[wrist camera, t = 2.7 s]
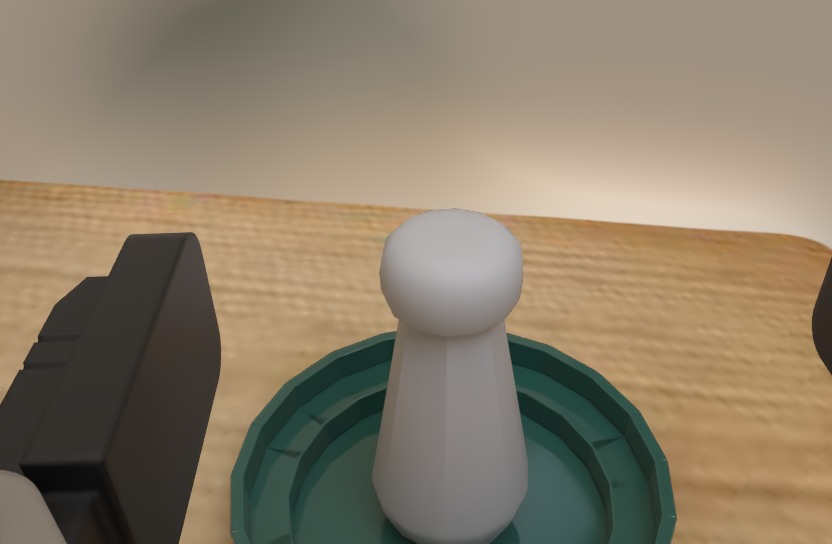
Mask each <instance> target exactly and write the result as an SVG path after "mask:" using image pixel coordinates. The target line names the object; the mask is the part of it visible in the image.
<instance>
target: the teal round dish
mask: <svg viewBox="0 0 832 544" xmlns="http://www.w3.org/2000/svg"><path fill="white" fill-rule="evenodd" d="M396 333H397V331H394V332H387V333H384V334H383V333H382V334H379V335H377V336H374V337H371V338H368V339H366V340H363V341H360V342H357V343H355V344H352V345H349V346H347V347H344V348H341V349H338V350H336V351H333V352H332V353H329V354H328V355H326V356H325V357H323V358H322V359H320V360H319V361H317V362H316V363H314V364H313V365H311V366H310V367H308V368H307V369H305V370H304V371H302V372H301V373H299V374H298V375H297V376H295V377H294V378H292V379H291V380H289V381H288V382H287V383H285V384H284V385H283V387H282V388H281V389H280V390H279V391H278V392H277V394H276V395H275V396H274V397H273V398H272V400H271V401H270V402H269V403H268V404H267V405H266V407H265V408H264V409H263V410H262V411H261V413H260V414H259V415H258V416H257V417H256V418H255V420H254V421H253V422H252V423H251V425H250V428H249V430H248V433H247V435H246V438H245V441H244V443H243V446H242V448H241V451H240V453H239V456H238V458H237V461H236V463H235V466H234V469H233V471H232V474H231V510H230V533H231V537H232V541H233V544H416V543H414V542H412V541H410V540H409V539H407V538H405V537H403V536H402V535H401V533H400V532H399V531H398V530H397V529H396V528H395V526H394V525H393V524H392V523H391V522H390V520H389V519H388V518H387V517H386V516H385V514H384V512H383V510H382V507H381V504H380V502H379V499H378V497H377V494H376V491H375V489H374V486H373V482H372V479H371V477H372V471H373V466H374V461H375V455H376V450H377V444H378V438H379V432H380V426H381V420H382V415H383V409H384V403H385V397H386V391H387V386H388V380H389V374H390V368H391V362H392V356H393V351H394V345H395V339H396ZM506 334H507V340H508V346H509V352H510V358H511V364H512V369H513V375H514V381H515V387H516V393H517V399H518V405H519V411H520V416H521V422H522V428H523V434H524V440H525V446H526V452H527V458H528V490H527V493H526V495H525V498H524V500H523V502H522V503H521V505H520V507H519V509H518V510H517V512H516V514H515V515H514V517H513V519H512V521H511V522H510V524H509V525H508V526H507V527H506V528H505V529H504V530H503V531H502V532H501V533H500V534H499V535H498V536H497V537H496V538H495V539H494V540H493V541H492V542H491V543H490V544H671V541H672V537H673V533H674V529H675V525H676V521H677V515H676V509H675V503H674V497H673V490H672V484H671V478H670V472H669V465H668V461H667V458H666V457H665V455H664V453H663V451H662V450H661V448H660V446H659V444H658V443H657V441H656V439H655V437H654V436H653V434H652V432H651V430H650V428H649V427H648V425H647V423H646V421H645V420H644V418H643V416H642V414H641V413H640V412H639V410H638V409H637V408H636V407H635V406H634V405H633V404H632V403H631V402H630V401H629V400H627V399H626V398H625V397H624V396H623V395H622V394H621V393H620V392H619V391H618V390H617V389H616V388H615V387H614V386H613V385H612V384H611V383H609V382H608V381H607V380H606V379H605V378H604V377H603V376H602V375H601V374H600V373H598V372H597V371H595V370H594V369H592V368H590V367H588V366H586V365H585V364H583V363H581V362H579V361H577V360H575V359H574V358H572V357H570V356H568V355H566V354H565V353H563V352H561V351H559V350H557V349H555V348H554V347H552V346H550V345H547V344H544V343H540V342H537V341H533V340H530V339H526V338H523V337H519V336H516V335H512V334H509V333H506Z"/></svg>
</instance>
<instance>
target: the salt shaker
mask: <svg viewBox="0 0 832 544" xmlns="http://www.w3.org/2000/svg"><path fill="white" fill-rule="evenodd" d="M380 282H381V290H382V293H383V295H384V297H385V299H386V301H387V303H388V305H389V307H390V309H391V311H392V313H393V315H394V317H396V318H397V319H399V322H398V327H397V333H396V339H395V345H394V351H393V356H392V362H391V368H390V374H389V380H388V386H387V391H386V397H385V403H384V409H383V415H382V420H381V426H380V432H379V438H378V444H377V450H376V455H375V461H374V466H373V471H372V477H371V479H372V482H373V486H374V489H375V491H376V494H377V497H378V499H379V502H380V504H381V507H382V510H383V512H384V514H385V516H386V517H387V518H388V519H389V520H390V522H391V523H392V524H393V525H394V526H395V528H396V529H397V530H398V531H399V532H400V533H401V535H402V536H403V537H405V538H407V539H409V540H410V541H412V542H414V543H416V544H490V543H491V542H492V541H493V540H494V539H495V538H496V537H497V536H498V535H499V534H500V533H501V532H502V531H503V530H504V529H505V528H506V527H507V526H508V525H509V524H510V522H511V521H512V519H513V517H514V515H515V514H516V512H517V510H518V509H519V507H520V505H521V503H522V502H523V500H524V498H525V495H526V493H527V490H528V458H527V452H526V446H525V440H524V434H523V428H522V422H521V416H520V411H519V405H518V399H517V393H516V387H515V381H514V375H513V369H512V364H511V358H510V352H509V346H508V340H507V334H506V328H505V322H504V320H505V318H506V317H507V316H508V315H509V313H510V312H511V311H512V310H513V308H514V307H515V306H516V304H517V302H518V300H519V299H520V294H521V288H522V282H523V257H522V249H521V243H520V242H519V241H518V240H517V239H516V238H515V236H514V235H513V234H512V233H511V232H510V230H509V229H508V228H507V227H505V226H504V225H503V224H501V223H500V222H498V221H496V220H494V219H492V218H490V217H488V216H486V215H484V214H482V213H480V212H475V211H469V210H462V209H456V208H454V209H440V210H430V211H427V212H424V213H422V214H419V215H416V216H413V217H411V218H409V219H408V220H406V221H405V222H404V223H403V224H401V225H400V226H399V227H398V228H397V229H396V230H394V231H393V232H392V233H391V234H390V235H389V236H387V237H386V241H385V245H384V250H383V254H382V261H381V267H380Z"/></svg>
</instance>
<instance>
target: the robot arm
mask: <svg viewBox="0 0 832 544" xmlns="http://www.w3.org/2000/svg"><path fill="white" fill-rule="evenodd" d="M812 333H813V339H814V344H815V347H816V350H817V352H818V354H819V356H820V358H821V360H822V361H823V363H824V364H825V366H826V367H827V369H828V370H829V372H830V373H831V375H832V258H831V261H830V264H829V266H828V269H827V272H826V275H825V278H824V281H823V284H822V286H821V289H820V292H819V295H818V298H817V301H816V304H815V307H814V310H813V316H812ZM23 364H24V369H23V370H19V372H18V373H17V375H16V377H15V379H14V381H13V383H12V384H11V386H10V388H9V390H8V392H7V394H6V395H5V397H4V399H3V401H2V403H1V405H0V544H179V540H180V536H181V532H182V528H183V524H184V519H185V515H186V511H187V507H188V503H189V499H190V495H191V491H192V487H193V483H194V479H195V474H196V470H197V466H198V462H199V458H200V454H201V450H202V446H203V442H204V438H205V433H206V429H207V425H208V421H209V417H210V413H211V409H212V405H213V401H214V397H215V393H216V388H217V384H218V380H219V375H220V366H221V342H220V333H219V328H218V323H217V318H216V314H215V309H214V305H213V300H212V296H211V291H210V287H209V282H208V278H207V273H206V269H205V264H204V260H203V255H202V251H201V247H200V244H199V241H198V239H197V237H196V235H195V234H194V233H192V232H188V233H161V234H133V235H130V236H129V237H128V238H127V239H126V241H125V242H124V244H123V247H122V249H121V251H120V253H119V255H118V257H117V259H116V261H115V263H114V265H113V267H112V270H111V272H110V274H109V276H104V277H87V278H86V279H84V280H83V281H82V282H81V283H80V284H79V285H77V286H76V287H75V288H74V289H73V290H72V291H70V292H69V293H68V294H67V295H66V296H65V297H63V298H62V299H61V300H60V301H59V302H58V303H56V304H55V306H54V307H53V309H52V311H51V313H50V315H49V317H48V318H47V320H46V322H45V324H44V326H43V328H42V329H41V331H40V333H39V335H38V343H34V344H33V346H32V348H31V350H30V351H29V353H28V355H27V357H26V359H25V361H24V362H23Z"/></svg>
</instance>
